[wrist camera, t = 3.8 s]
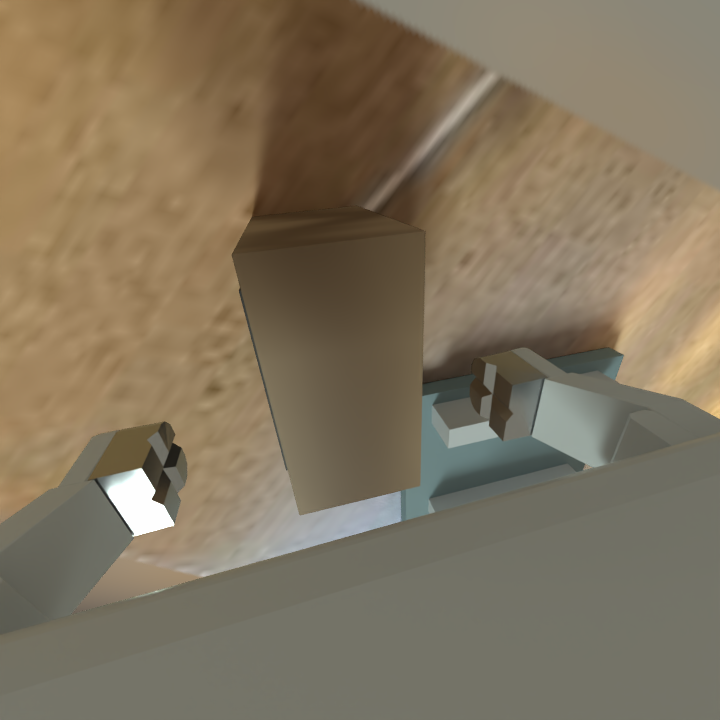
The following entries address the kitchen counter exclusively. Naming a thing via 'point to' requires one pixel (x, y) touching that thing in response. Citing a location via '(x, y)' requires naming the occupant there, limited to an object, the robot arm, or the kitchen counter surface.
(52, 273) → the kitchen counter surface
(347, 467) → the brown box
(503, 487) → the teal board with ridges
